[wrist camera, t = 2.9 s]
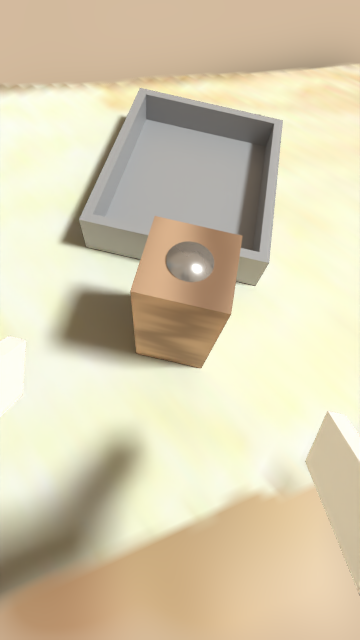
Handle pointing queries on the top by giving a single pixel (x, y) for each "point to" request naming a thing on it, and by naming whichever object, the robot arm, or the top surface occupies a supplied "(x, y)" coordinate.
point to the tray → (187, 177)
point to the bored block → (183, 290)
